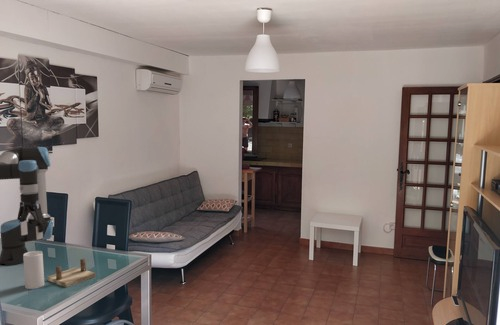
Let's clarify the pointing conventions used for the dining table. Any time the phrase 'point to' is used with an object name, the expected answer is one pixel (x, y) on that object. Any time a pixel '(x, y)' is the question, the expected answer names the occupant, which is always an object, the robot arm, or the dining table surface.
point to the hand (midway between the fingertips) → (32, 236)
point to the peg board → (71, 275)
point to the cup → (33, 269)
